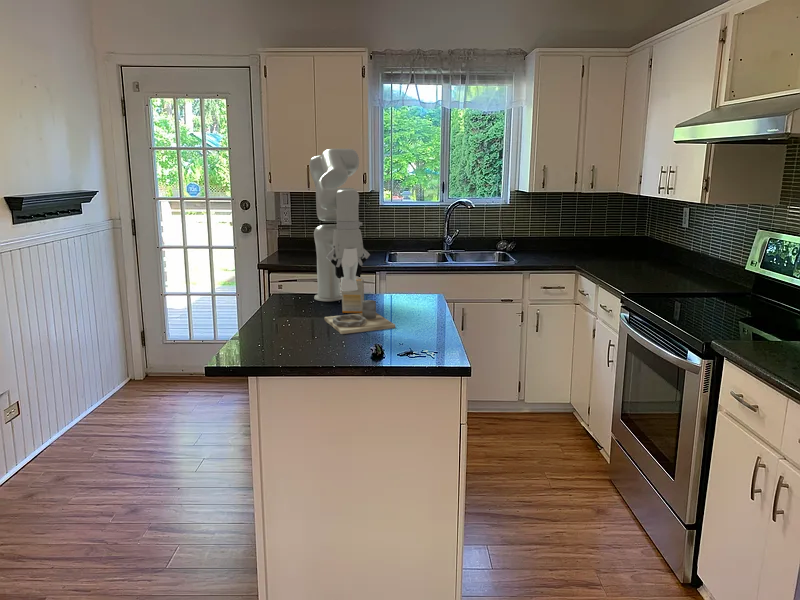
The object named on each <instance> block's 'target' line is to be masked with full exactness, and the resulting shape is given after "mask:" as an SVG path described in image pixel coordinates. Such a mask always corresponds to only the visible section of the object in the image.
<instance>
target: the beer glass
mask: <svg viewBox="0 0 800 600" xmlns="http://www.w3.org/2000/svg"><path fill="white" fill-rule="evenodd" d="M358 261H359V258H358V253H357V248H351V249H344V253H343V258H342V259H341V264H340V267H341V279H340V292H342V291H356V290H357V289H358V288H357V283H356V278H357V277H358V276H357V270H358Z"/></svg>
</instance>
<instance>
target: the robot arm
mask: <svg viewBox="0 0 800 600" xmlns="http://www.w3.org/2000/svg"><path fill="white" fill-rule="evenodd" d="M359 167H360V158H359V155H358V152H357V151H356V150H355V149H353V148H329V149H325V150H324V151H323V152H322V154H321V155H315V156H313V157H311V158H310V160H309V171H310V175H311V178H312V181H313V184H314V187H315V202H316V203H315V205H316V216H317V219H318V220H319V221H322V222H336V224H321V225H318V226H317V227H315V228H314V231H313V238H314V239H313V240H314V243H315V252H316V274H317V277H316V278H317V280H316V281H317V294H315V295H314V297H313V298H314V300H315V301H318V302H338V301H342V293H341V290H340V287H341V267H340V264H341V259H342V258H343V253H344V249H351V248H357V253H358V258H359V261H358V270H357V276H356V277H357V278H361V275H362V274H363V272H362V270H363V269H362V267H363V265H364V263H365V262H366V260H367V259H369V257H370V256H371V254H370V253H369V252H368V250H366V249H365V247H364V243H363V242H364V241H363V235H362V230H361V229H360V227H362V226H363V222H362V221H360V220H359V204H360V194H359V192H358V190H357V189H355V188H352V187H351V188H350V187H342V186H343V185H345V183H346V182H347V181H348V179H349V177H352V176H353V175H354V174H355V173H356V172H357V171H358V169H359Z"/></svg>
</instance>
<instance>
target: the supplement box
mask: <svg viewBox="0 0 800 600" xmlns="http://www.w3.org/2000/svg"><path fill="white" fill-rule="evenodd" d="M356 283H357V288H358V289H357V290H356V291H341V294H342V300H341V311H342V312H341V313H342V314H344V313H345V314H346V313H347V314H359V313H362V301H365V286H364V285H365V284H364V283H365V281H364V277H363V278H361V277H356Z"/></svg>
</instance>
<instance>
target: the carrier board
mask: <svg viewBox="0 0 800 600" xmlns="http://www.w3.org/2000/svg"><path fill="white" fill-rule="evenodd" d="M376 302H377V301H376V300H373V299H367V300H365V299H364V301H362V313H348V314H341V315H330V316H324V321H325V322H326V323H327V324H328V325H330V326H331V328H332V327H333V329H334V330H336V331H337V332H339V334H341V335H345V334H346V335H347V334H355V333H364V332H371V331H373V332H374V331H382V330H389V329H396V323H394V322H392V321H390V320H389V319H387V318H385V317H384V316H382V315H380V314H379V313H378V312H377V303H376Z"/></svg>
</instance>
